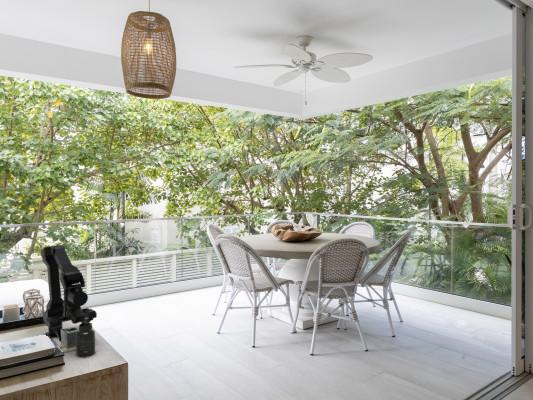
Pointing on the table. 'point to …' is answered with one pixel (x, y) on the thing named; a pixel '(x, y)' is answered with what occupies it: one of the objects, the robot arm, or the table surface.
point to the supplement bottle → (85, 340)
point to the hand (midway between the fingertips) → (71, 338)
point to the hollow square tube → (69, 337)
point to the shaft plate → (66, 349)
